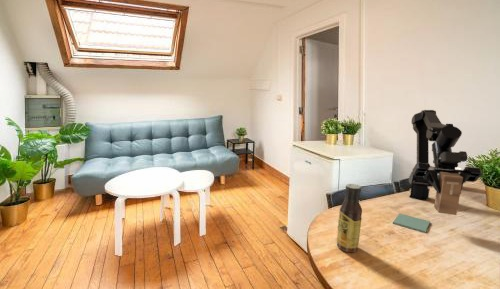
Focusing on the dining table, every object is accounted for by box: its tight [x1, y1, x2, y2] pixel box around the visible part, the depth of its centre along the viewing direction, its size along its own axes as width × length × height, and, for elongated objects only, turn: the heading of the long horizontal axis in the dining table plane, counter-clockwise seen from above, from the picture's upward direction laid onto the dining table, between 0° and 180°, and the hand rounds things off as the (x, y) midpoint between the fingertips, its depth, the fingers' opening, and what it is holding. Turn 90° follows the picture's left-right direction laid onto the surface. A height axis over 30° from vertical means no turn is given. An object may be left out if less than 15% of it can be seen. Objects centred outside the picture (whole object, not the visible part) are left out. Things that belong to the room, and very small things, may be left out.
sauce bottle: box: [336, 183, 363, 253], centre depth 78 cm, size 6×6×20 cm
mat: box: [392, 212, 431, 234], centre depth 96 cm, size 10×10×1 cm
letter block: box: [433, 172, 463, 216], centre depth 89 cm, size 5×5×13 cm
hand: (449, 194), depth 88 cm, fingers closed on letter block, 5 cm apart
